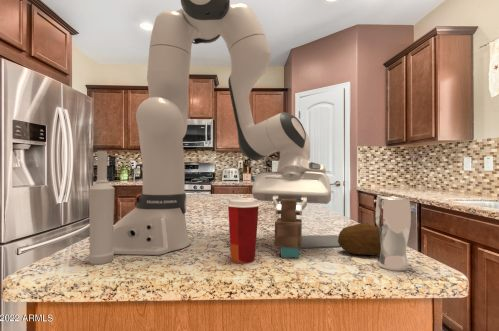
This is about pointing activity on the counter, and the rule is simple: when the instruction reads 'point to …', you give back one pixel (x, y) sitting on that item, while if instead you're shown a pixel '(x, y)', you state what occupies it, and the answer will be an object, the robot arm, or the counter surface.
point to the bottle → (101, 215)
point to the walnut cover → (288, 226)
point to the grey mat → (319, 241)
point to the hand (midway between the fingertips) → (288, 213)
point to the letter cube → (289, 252)
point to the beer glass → (393, 231)
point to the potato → (360, 239)
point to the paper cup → (243, 229)
